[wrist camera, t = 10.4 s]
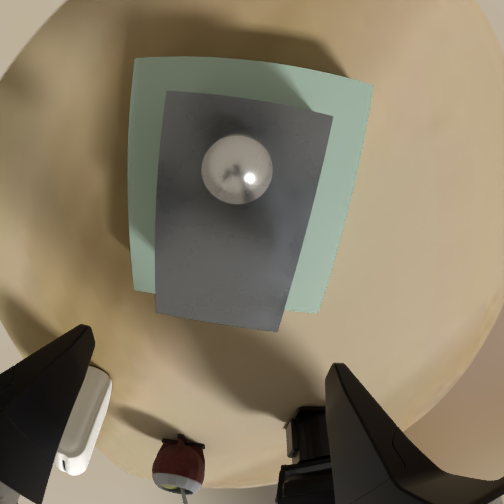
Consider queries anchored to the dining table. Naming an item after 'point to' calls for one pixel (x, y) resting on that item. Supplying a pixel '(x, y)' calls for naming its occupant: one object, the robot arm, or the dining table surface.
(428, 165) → the dining table surface
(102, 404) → the photo printer
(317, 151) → the graphite housing
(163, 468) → the mate gourd
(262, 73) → the sage stand
